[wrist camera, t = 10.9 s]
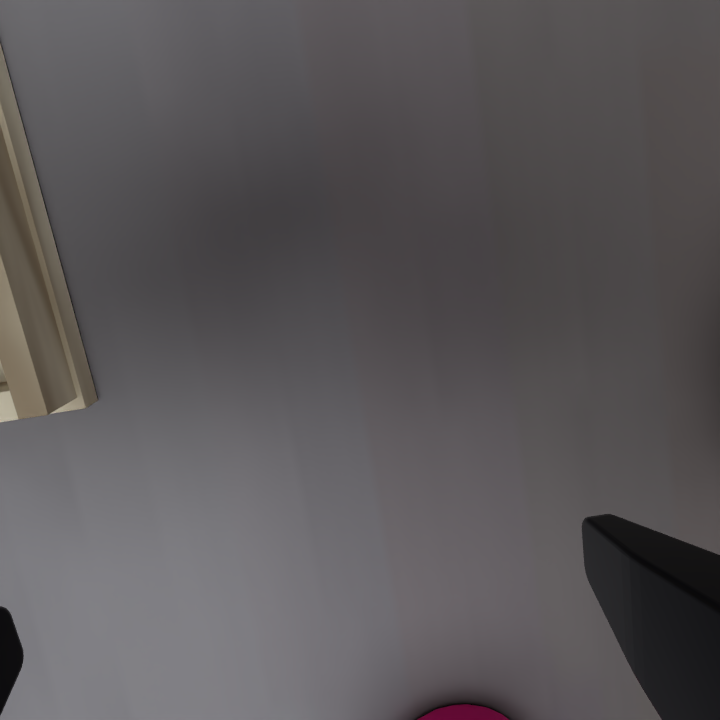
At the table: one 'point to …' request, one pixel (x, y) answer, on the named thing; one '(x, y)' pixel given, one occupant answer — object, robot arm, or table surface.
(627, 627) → the robot arm
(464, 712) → the pepper mill
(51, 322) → the divided wooden tray
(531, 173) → the table surface
